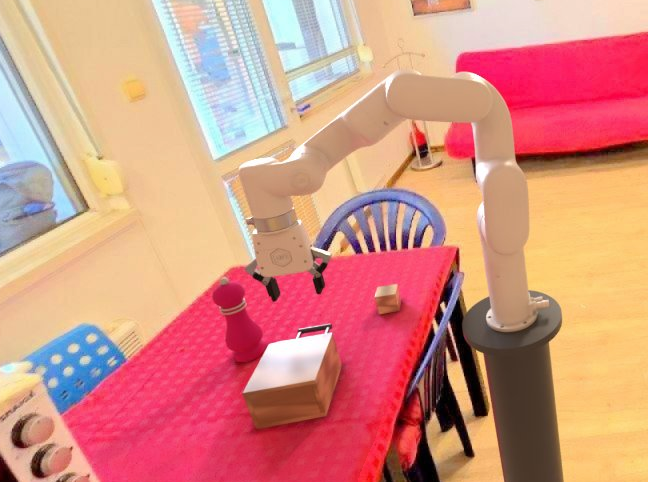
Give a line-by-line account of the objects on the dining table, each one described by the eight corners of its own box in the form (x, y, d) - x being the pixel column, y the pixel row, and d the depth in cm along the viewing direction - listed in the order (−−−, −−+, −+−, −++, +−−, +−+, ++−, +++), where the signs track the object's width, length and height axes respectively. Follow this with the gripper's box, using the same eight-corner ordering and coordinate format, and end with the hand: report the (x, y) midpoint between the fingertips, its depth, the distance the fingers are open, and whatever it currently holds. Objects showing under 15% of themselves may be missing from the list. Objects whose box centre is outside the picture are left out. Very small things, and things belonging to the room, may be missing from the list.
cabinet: (280, 377, 111) (269, 343, 108) (342, 366, 112) (332, 332, 109) (255, 429, 97) (242, 393, 94) (326, 416, 99) (315, 380, 96)
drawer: (294, 347, 119) (286, 322, 116) (346, 338, 120) (339, 313, 118) (263, 414, 100) (252, 385, 97) (325, 402, 101) (316, 374, 99)
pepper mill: (225, 360, 117) (195, 284, 110) (252, 341, 124) (226, 267, 116) (247, 366, 115) (218, 288, 107) (275, 346, 121) (249, 271, 114)
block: (401, 300, 135) (397, 283, 133) (399, 311, 131) (395, 293, 129) (381, 303, 135) (377, 286, 133) (378, 314, 130) (374, 297, 128)
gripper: (221, 234, 100) (248, 311, 106) (316, 221, 102) (337, 297, 108) (236, 219, 107) (261, 292, 113) (325, 206, 109) (344, 279, 115)
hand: (298, 294), depth 111 cm, fingers open, 8 cm apart
